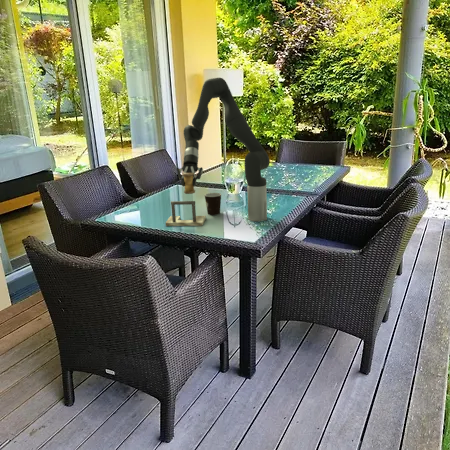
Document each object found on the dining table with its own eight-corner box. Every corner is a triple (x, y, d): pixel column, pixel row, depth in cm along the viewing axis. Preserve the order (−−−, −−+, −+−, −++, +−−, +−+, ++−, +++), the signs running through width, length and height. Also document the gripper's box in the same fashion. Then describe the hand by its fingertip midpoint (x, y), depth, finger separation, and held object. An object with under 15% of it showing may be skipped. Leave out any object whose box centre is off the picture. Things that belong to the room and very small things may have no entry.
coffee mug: (206, 211, 235) (205, 193, 232) (222, 210, 234) (221, 192, 231) (204, 217, 224) (203, 198, 220) (221, 217, 223) (220, 198, 220)
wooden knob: (196, 191, 229) (194, 172, 226) (194, 193, 224) (192, 174, 220) (185, 191, 229) (183, 172, 226) (183, 194, 224) (181, 174, 221)
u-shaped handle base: (205, 218, 222) (204, 196, 218) (202, 225, 211) (201, 201, 208) (170, 219, 224) (168, 196, 220) (165, 225, 213) (163, 202, 210)
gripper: (176, 154, 229) (173, 182, 221) (203, 153, 227) (201, 181, 219) (179, 162, 235) (176, 189, 228) (205, 161, 234) (203, 189, 226)
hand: (188, 185), depth 223 cm, fingers closed on wooden knob, 4 cm apart
